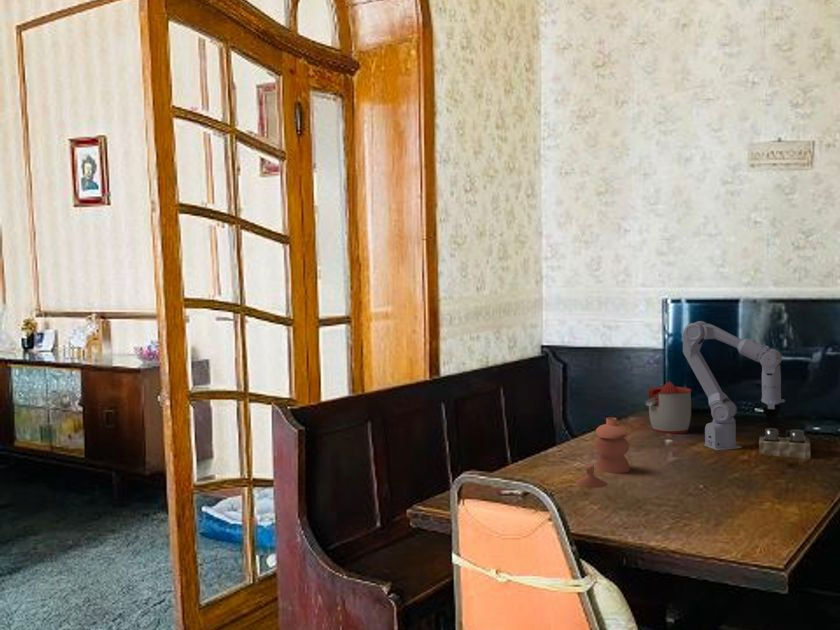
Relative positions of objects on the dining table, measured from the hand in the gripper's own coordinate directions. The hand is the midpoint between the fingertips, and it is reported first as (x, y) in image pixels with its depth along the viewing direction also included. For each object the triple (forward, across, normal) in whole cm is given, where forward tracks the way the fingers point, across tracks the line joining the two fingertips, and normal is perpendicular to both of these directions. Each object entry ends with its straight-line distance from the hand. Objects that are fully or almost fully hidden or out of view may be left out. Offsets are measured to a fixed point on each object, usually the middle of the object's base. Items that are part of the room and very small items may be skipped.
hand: (771, 427), depth 257 cm
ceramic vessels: (+10, -57, +45) cm, 73 cm away
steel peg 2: (+6, 0, -8) cm, 10 cm away
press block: (+9, 0, -4) cm, 10 cm away
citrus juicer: (+10, +23, +36) cm, 44 cm away
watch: (+6, +16, -7) cm, 18 cm away
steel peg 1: (+6, 0, 0) cm, 6 cm away
